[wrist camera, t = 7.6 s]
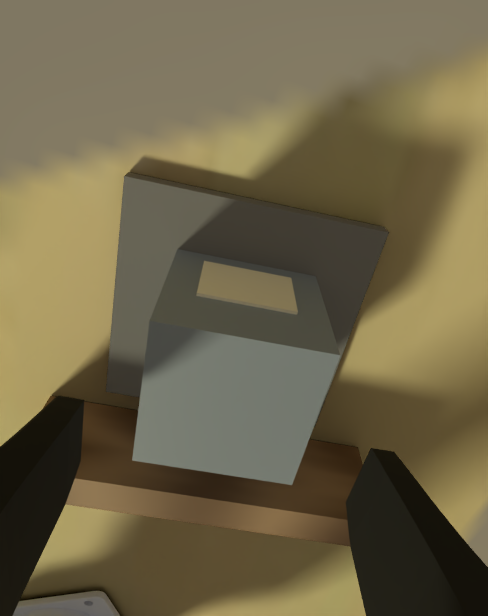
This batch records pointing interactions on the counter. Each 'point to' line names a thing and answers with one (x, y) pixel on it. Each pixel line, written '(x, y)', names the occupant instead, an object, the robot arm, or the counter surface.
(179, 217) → the mat
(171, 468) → the walnut screen
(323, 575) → the counter surface
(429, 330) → the counter surface
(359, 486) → the robot arm
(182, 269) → the slate cube
